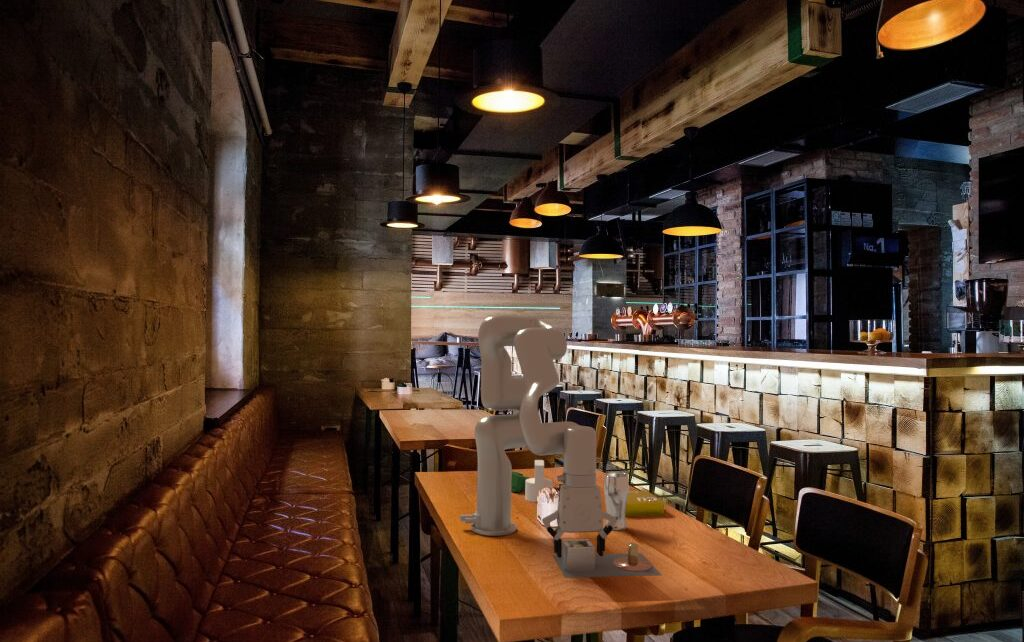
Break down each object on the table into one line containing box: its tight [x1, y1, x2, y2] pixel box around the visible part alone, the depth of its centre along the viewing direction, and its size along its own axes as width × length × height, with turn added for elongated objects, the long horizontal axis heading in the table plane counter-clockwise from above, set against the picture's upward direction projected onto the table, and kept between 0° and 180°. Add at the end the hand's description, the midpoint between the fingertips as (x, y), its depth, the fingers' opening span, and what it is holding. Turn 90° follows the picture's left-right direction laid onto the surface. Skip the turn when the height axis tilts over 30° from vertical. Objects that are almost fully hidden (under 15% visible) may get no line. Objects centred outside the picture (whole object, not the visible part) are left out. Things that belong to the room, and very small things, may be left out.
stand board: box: [553, 544, 662, 579], centre depth 149 cm, size 22×14×6 cm, turn 97°
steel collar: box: [561, 538, 596, 571], centre depth 148 cm, size 6×6×5 cm
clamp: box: [511, 470, 531, 493], centre depth 226 cm, size 12×6×9 cm, turn 19°
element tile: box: [625, 490, 665, 518], centre depth 202 cm, size 15×15×5 cm
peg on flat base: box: [613, 542, 653, 571], centre depth 150 cm, size 9×9×4 cm
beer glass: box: [603, 471, 630, 531], centre depth 183 cm, size 7×7×15 cm
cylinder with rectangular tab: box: [524, 459, 554, 503], centre depth 213 cm, size 9×9×12 cm
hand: (579, 555), depth 148 cm, fingers open, 9 cm apart
